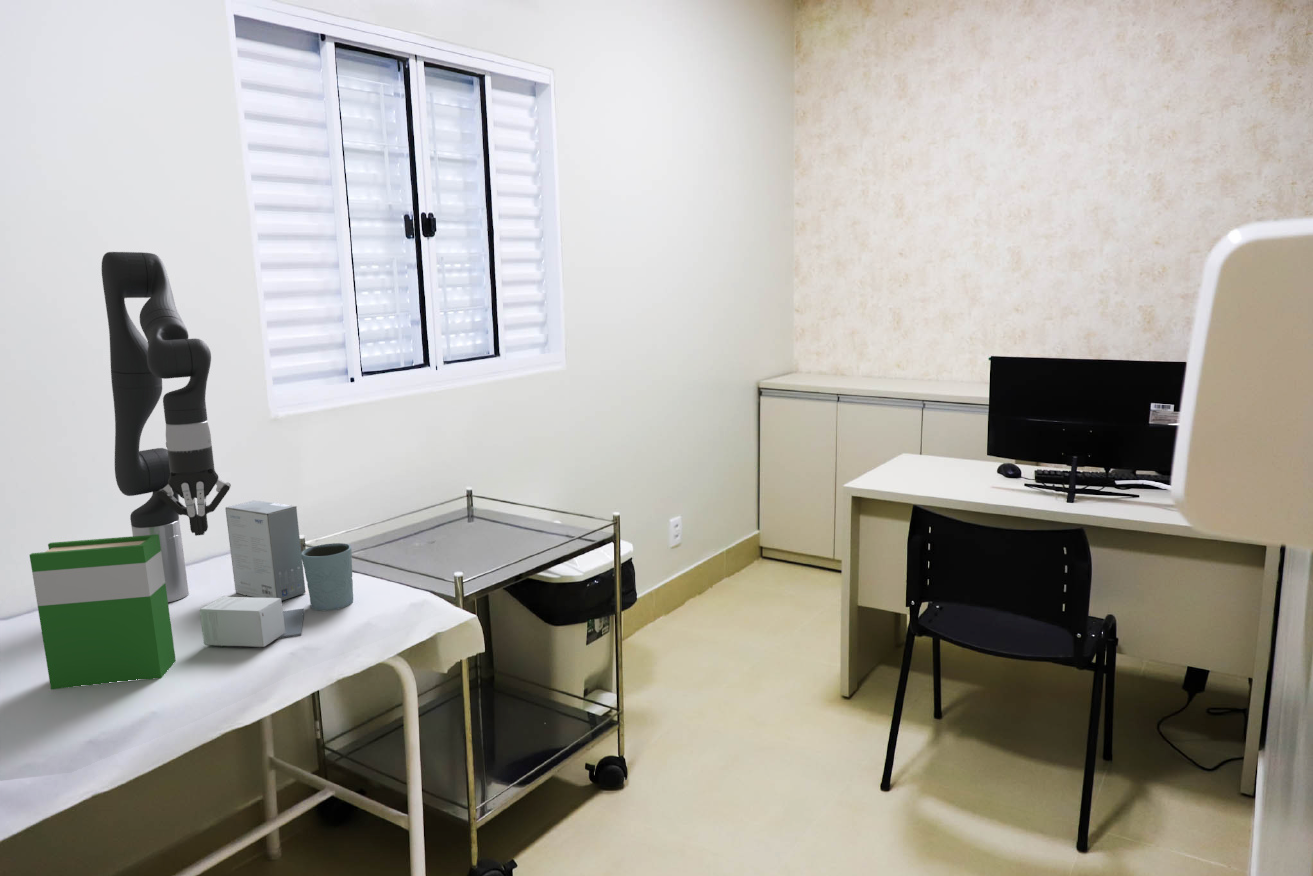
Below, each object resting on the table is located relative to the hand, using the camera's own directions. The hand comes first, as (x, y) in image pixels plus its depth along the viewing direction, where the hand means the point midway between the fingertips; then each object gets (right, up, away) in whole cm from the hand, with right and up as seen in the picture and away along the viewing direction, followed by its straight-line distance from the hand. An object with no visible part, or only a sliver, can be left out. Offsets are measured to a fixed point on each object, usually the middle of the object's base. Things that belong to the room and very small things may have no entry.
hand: (199, 534), depth 174 cm
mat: (+10, -19, +7) cm, 23 cm away
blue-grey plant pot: (+18, -17, +20) cm, 32 cm away
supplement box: (+2, -17, 0) cm, 17 cm away
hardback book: (-8, -24, -13) cm, 28 cm away
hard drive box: (+2, -16, +28) cm, 32 cm away
